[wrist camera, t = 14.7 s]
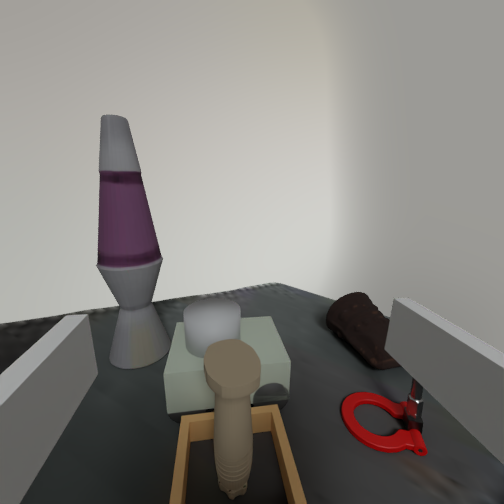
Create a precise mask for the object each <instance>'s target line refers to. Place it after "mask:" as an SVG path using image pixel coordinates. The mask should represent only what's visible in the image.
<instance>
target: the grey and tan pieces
mask: <svg viewBox="0 0 504 504" xmlns="http://www.w3.org/2000/svg"><path fill="white" fill-rule="evenodd" d="M183 314H184V322H178V323H177V325H176V329H175V333H174V336H173V340H172V344H171V348H170V352H169V355H168V359H167V363H166V367H165V370H164V384H165V395H166V405H167V414H168V415H169V417H170V418H171V419H172V420H173V421H175V422H177V423H181V424H180V431H179V438H178V445H177V453H176V460H175V467H174V474H173V482H172V489H171V496H170V503H169V504H185V499H186V488H187V476H188V465H189V454H190V442H193V441H200V440H208V439H214V412H209V413H206V410H207V409H212V408H215V392H213V391H212V390H211V388H210V387H209V386H208V384H207V382H206V378H205V373H204V355H205V352H206V350H207V348H208V346H210V345H211V344H213V343H215V342H218V341H221V340H227V339H238V340H241V341H243V342H245V343H246V344H248V345H250V346H251V347H252V348H253V349H254V350H255V352H256V353H257V355H258V357H259V359H260V362H261V375H260V386H259V388H258V389H257V390H256V391H255V392H254V393H252V394H250V401H251V404H253V405H254V407H251V417H252V431H253V433H259V432H266V431H271V433H272V438H273V442H274V446H275V450H276V454H277V459H278V463H279V467H280V471H281V476H282V480H283V484H284V488H285V492H286V497H287V501H288V504H307V502H306V499H305V496H304V492H303V489H302V486H301V482H300V479H299V475H298V472H297V469H296V465H295V462H294V459H293V455H292V452H291V448H290V445H289V442H288V438H287V435H286V432H285V428H284V425H283V421H282V418H281V415H280V411H279V410H280V409H282V408H283V407H284V406H285V405H286V403H287V401H288V399H289V385H290V367H291V361H290V359H289V357H288V354H287V352H286V350H285V348H284V345H283V343H282V341H281V339H280V336H279V334H278V332H277V330H276V327H275V325H274V323H273V321H272V318H271V316H266V317H252V318H240V306H239V305H238V304H237V303H235V302H234V301H231V300H228V299H223V298H209V299H203V300H199V301H196V302H194V303H192V304H190V305H189V306H187V307H186V308H185V310H184V313H183Z"/></svg>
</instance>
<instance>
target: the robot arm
mask: <svg viewBox="0 0 504 504" xmlns="http://www.w3.org/2000/svg"><path fill="white" fill-rule="evenodd" d="M385 350H386V351H387V352H388V353H389V354H390V355H391V356H392V357H393V358H394V359H395V360H396V361H397V362H398V363H399V364H400V365H401V366H402V367H403V368H404V369H405V370H406V371H407V372H408V373H409V374H410V375H411V376H412V377H413V378H414V379H416V380H417V381H418V382H419V383H420V384H421V385H422V386H423V387H424V388H425V389H426V390H427V391H428V392H429V393H430V394H431V395H432V396H433V397H434V398H435V399H436V400H437V401H438V402H439V403H440V404H441V405H442V406H443V407H444V408H445V409H447V410H448V411H449V412H450V413H451V414H452V415H453V416H454V417H455V418H456V419H457V420H458V421H459V422H460V423H461V424H462V425H463V426H464V427H465V428H466V429H467V430H468V431H469V432H470V433H471V434H472V435H473V436H474V437H475V438H476V439H477V440H479V441H480V442H481V443H482V444H483V445H484V446H485V447H486V448H487V449H488V450H489V451H490V452H491V453H492V454H493V455H494V456H495V457H496V458H497V459H498V460H499V461H500V462H501V463H502V464H503V465H504V353H503V352H501V351H499V350H497V349H496V348H494V347H492V346H491V345H489V344H487V343H485V342H483V341H482V340H480V339H479V338H477V337H475V336H473V335H472V334H470V333H468V332H467V331H465V330H463V329H461V328H460V327H458V326H456V325H455V324H453V323H451V322H449V321H448V320H446V319H444V318H443V317H441V316H439V315H437V314H436V313H434V312H432V311H430V310H429V309H427V308H425V307H424V306H422V305H420V304H419V303H417V302H415V301H413V300H412V299H410V298H394V301H393V306H392V311H391V317H390V322H389V327H388V333H387V338H386V344H385ZM97 375H98V371H97V365H96V359H95V353H94V347H93V341H92V335H91V329H90V323H89V317H88V314H84V315H66V316H65V317H64V318H63V319H62V320H61V321H59V322H58V323H57V324H56V325H55V326H54V327H53V328H52V329H51V330H49V331H48V332H47V333H46V334H45V335H44V336H43V337H42V338H41V339H39V340H38V341H37V342H36V343H35V344H34V345H33V346H32V347H31V348H29V349H28V350H27V351H26V352H25V353H24V354H23V355H22V356H21V357H19V358H18V359H17V360H16V361H15V362H14V363H13V364H12V365H11V366H9V367H8V368H7V369H6V370H5V371H4V372H3V373H2V374H0V504H20V502H21V500H22V499H23V497H24V495H25V494H26V492H27V490H28V489H29V487H30V485H31V484H32V482H33V481H34V479H35V477H36V476H37V474H38V472H39V471H40V469H41V467H42V466H43V464H44V462H45V461H46V459H47V457H48V456H49V454H50V452H51V451H52V449H53V447H54V446H55V444H56V442H57V441H58V439H59V437H60V436H61V434H62V433H63V431H64V429H65V428H66V426H67V424H68V423H69V421H70V419H71V418H72V416H73V414H74V413H75V411H76V409H77V408H78V406H79V404H80V403H81V401H82V399H83V398H84V396H85V394H86V393H87V391H88V390H89V388H90V386H91V385H92V383H93V381H94V380H95V378H96V376H97Z"/></svg>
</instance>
